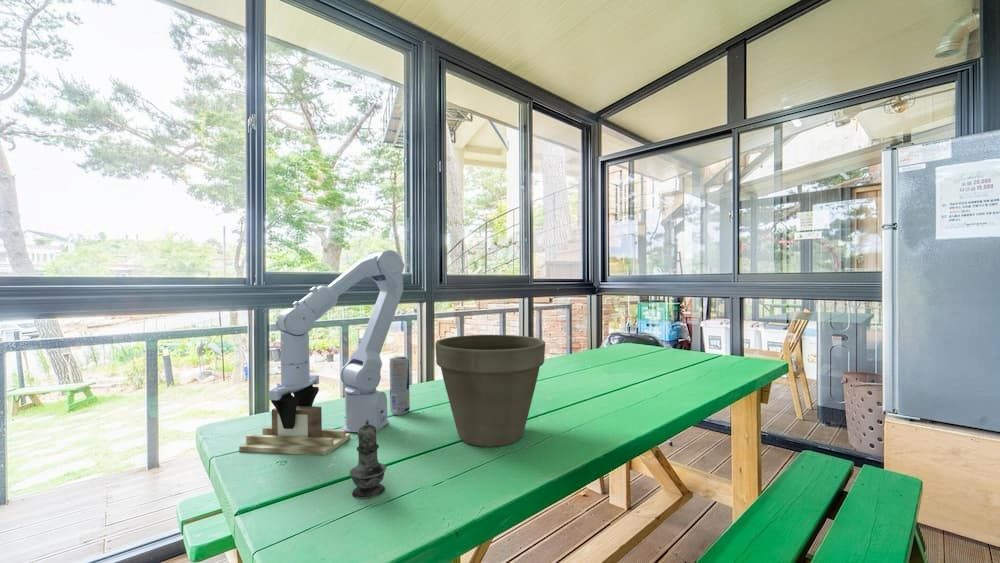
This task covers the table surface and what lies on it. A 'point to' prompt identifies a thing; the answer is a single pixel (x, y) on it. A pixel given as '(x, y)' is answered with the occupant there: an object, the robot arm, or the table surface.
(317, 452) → the ledge
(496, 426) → the plant pot
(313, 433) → the frame
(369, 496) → the salt shaker
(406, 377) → the beverage can
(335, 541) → the table surface
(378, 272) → the robot arm
